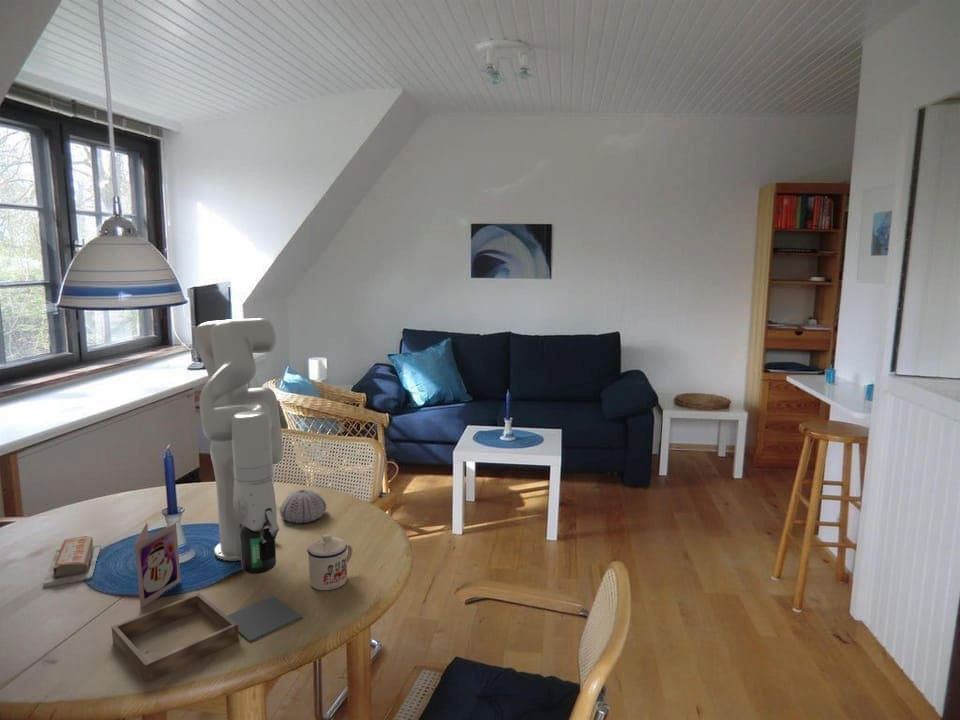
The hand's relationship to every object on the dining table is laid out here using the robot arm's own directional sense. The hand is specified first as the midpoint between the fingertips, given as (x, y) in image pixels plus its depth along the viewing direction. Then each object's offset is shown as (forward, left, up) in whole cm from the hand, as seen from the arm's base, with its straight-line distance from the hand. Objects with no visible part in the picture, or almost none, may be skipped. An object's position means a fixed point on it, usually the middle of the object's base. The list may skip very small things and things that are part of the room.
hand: (258, 552), depth 136 cm
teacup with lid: (-20, -3, -15) cm, 25 cm away
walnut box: (+16, -5, -15) cm, 23 cm away
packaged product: (+20, -55, -16) cm, 61 cm away
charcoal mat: (0, 0, -15) cm, 15 cm away
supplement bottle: (0, 0, -3) cm, 3 cm away
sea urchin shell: (-35, -40, -16) cm, 55 cm away
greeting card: (+12, -28, -15) cm, 34 cm away
